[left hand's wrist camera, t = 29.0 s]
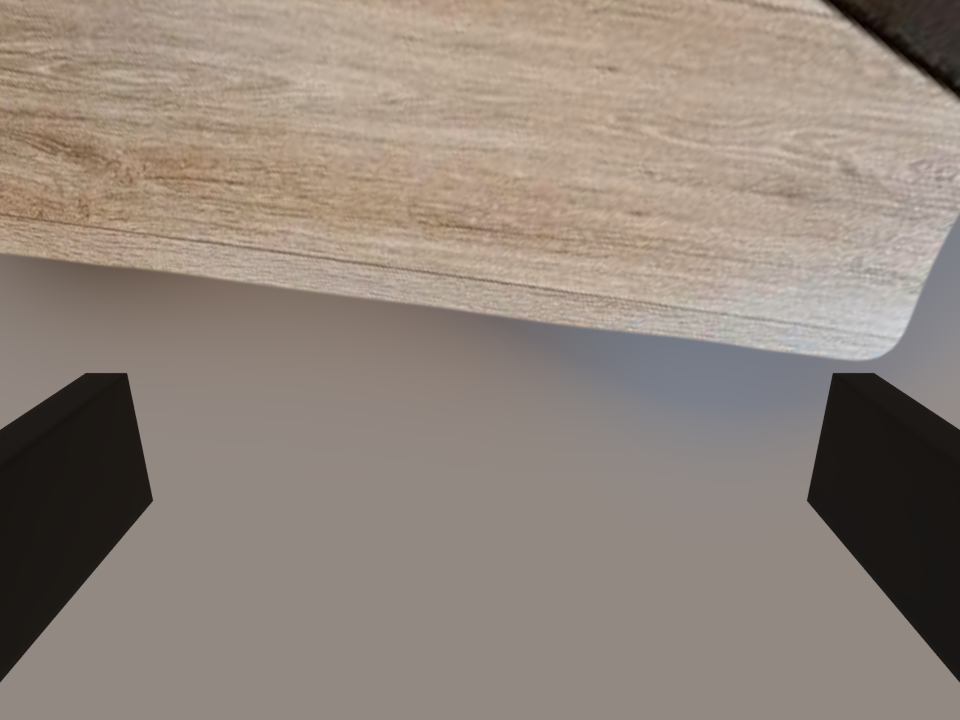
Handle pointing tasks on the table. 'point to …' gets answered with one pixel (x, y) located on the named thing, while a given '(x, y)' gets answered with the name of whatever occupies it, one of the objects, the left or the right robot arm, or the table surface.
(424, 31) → the table surface
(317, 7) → the table surface
